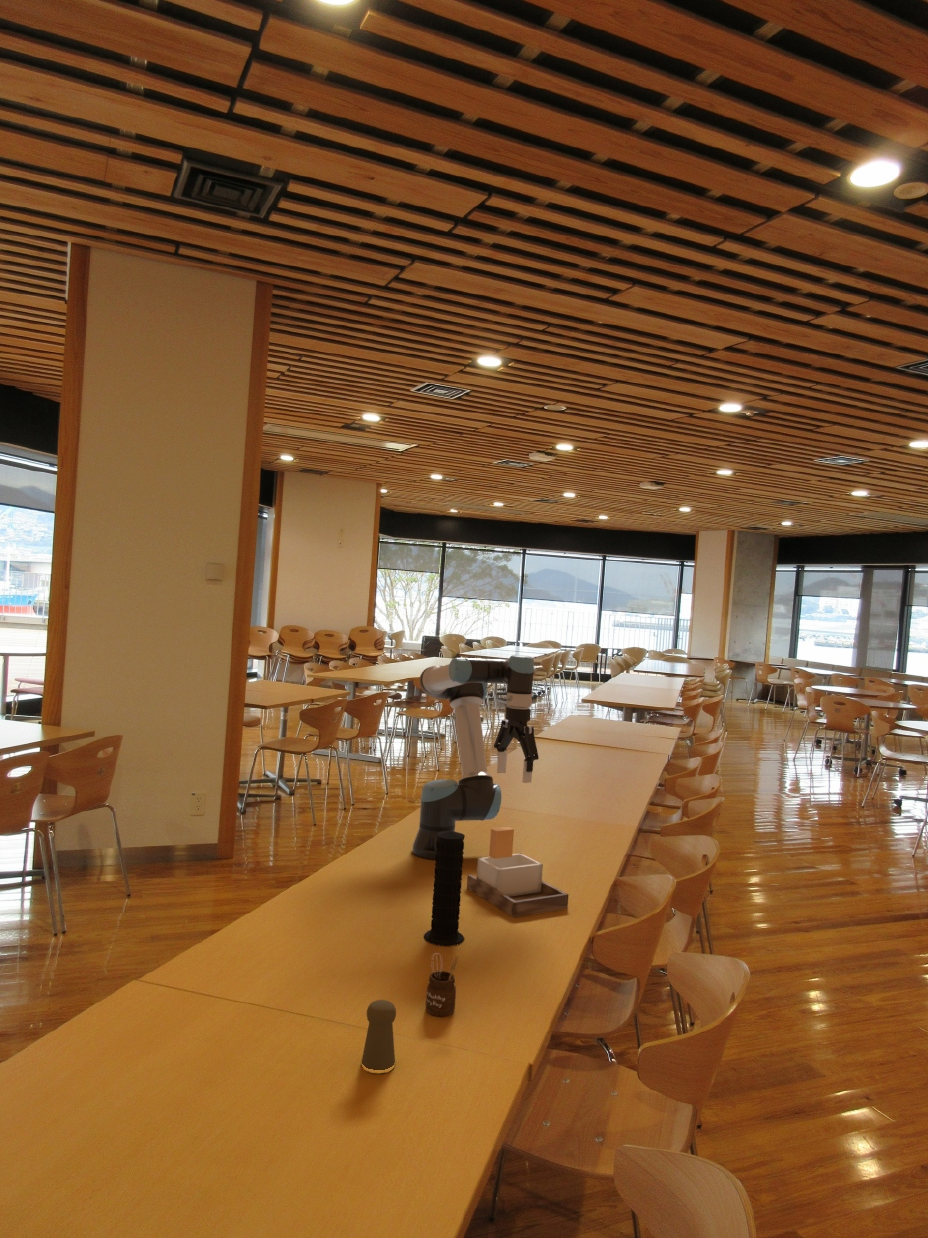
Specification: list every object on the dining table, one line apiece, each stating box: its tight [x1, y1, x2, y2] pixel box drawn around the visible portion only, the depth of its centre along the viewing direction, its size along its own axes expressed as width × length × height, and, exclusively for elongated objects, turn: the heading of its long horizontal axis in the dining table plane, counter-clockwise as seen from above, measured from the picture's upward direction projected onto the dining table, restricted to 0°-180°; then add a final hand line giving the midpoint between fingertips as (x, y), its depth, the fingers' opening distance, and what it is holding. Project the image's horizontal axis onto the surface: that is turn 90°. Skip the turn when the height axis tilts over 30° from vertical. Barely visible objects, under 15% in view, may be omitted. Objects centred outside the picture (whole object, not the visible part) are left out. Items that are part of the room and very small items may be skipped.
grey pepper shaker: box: [361, 999, 397, 1070], centre depth 152 cm, size 6×6×11 cm
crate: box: [476, 826, 544, 897], centre depth 246 cm, size 12×15×16 cm
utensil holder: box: [425, 952, 460, 1018], centre depth 173 cm, size 6×6×12 cm
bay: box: [466, 873, 569, 918], centre depth 242 cm, size 24×18×4 cm
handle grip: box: [423, 831, 466, 947], centre depth 210 cm, size 10×26×10 cm
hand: (513, 777), depth 258 cm, fingers open, 13 cm apart
